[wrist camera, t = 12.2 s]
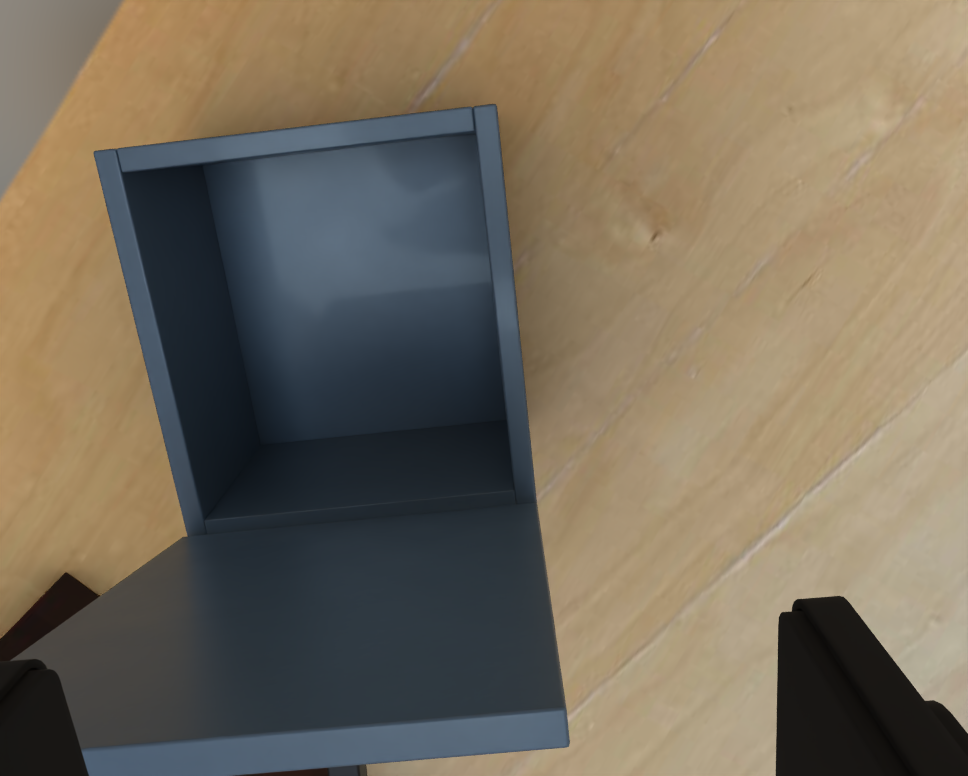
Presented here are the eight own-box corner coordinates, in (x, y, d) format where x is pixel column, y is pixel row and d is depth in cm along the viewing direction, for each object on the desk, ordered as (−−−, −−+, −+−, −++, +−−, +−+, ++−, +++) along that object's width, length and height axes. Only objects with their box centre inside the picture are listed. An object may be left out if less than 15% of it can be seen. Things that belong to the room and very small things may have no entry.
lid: (-145, 769, 15) (-98, 1008, 16) (566, 707, 15) (591, 957, 15) (182, 536, 31) (200, 661, 31) (536, 502, 30) (550, 629, 31)
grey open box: (187, 148, 35) (92, 151, 27) (495, 111, 35) (496, 103, 26) (252, 455, 39) (188, 541, 31) (527, 427, 39) (537, 507, 31)
